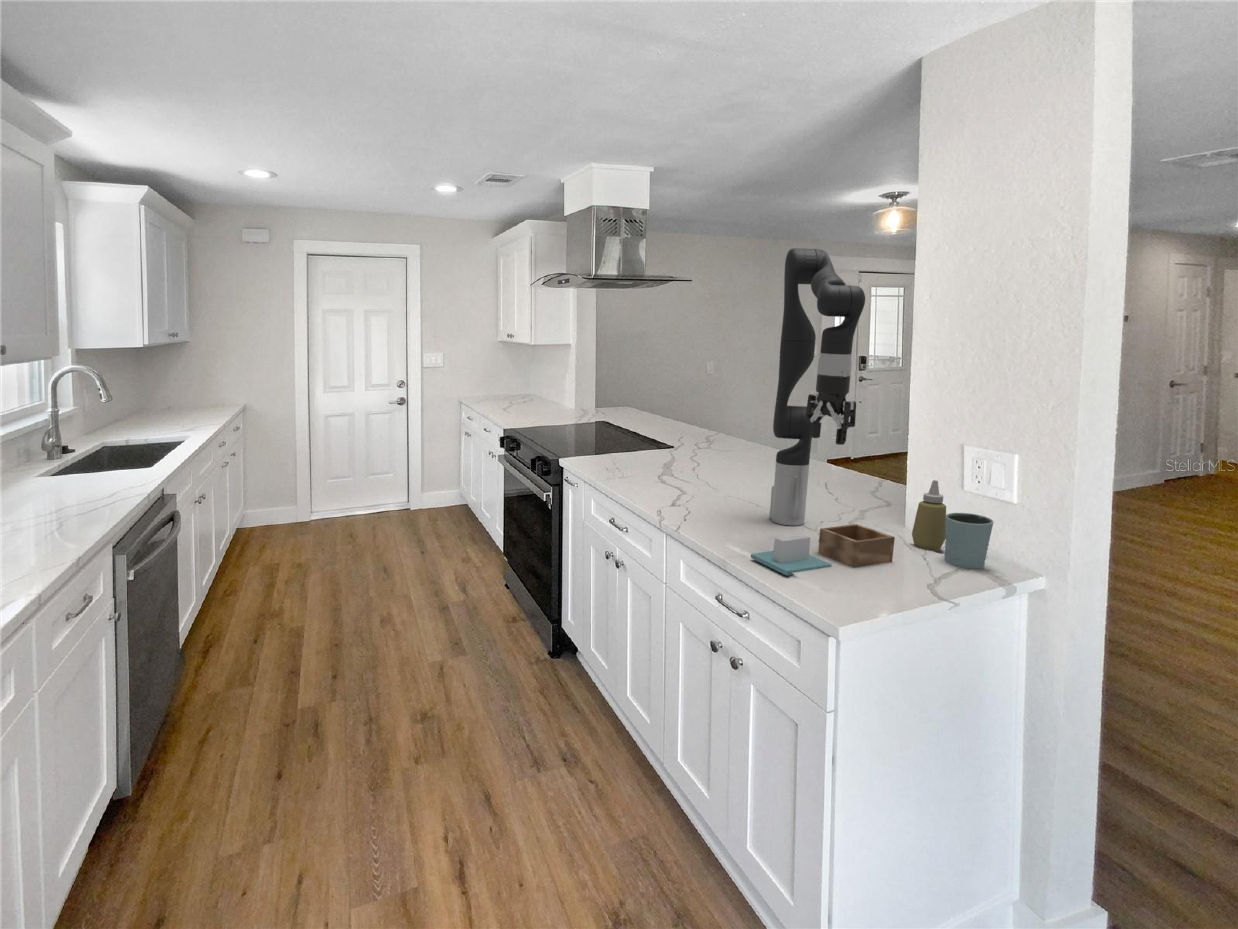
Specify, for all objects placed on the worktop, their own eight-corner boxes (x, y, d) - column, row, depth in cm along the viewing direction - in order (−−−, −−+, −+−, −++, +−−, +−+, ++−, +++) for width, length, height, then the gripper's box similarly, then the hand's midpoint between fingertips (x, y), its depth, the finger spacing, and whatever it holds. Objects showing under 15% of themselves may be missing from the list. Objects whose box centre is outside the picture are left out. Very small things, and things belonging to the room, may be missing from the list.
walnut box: (817, 556, 175) (820, 528, 174) (854, 550, 180) (857, 523, 179) (853, 571, 164) (856, 542, 163) (891, 565, 170) (894, 537, 168)
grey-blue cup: (992, 567, 171) (999, 518, 169) (979, 577, 164) (986, 526, 162) (948, 557, 178) (953, 510, 176) (933, 566, 170) (939, 517, 168)
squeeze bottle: (941, 546, 186) (950, 479, 183) (946, 555, 179) (955, 485, 175) (908, 543, 188) (916, 476, 185) (912, 552, 181) (920, 482, 177)
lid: (750, 561, 170) (752, 532, 169) (793, 555, 176) (795, 527, 175) (786, 579, 159) (788, 548, 158) (830, 571, 165) (833, 542, 163)
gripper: (801, 370, 173) (795, 436, 176) (843, 376, 160) (836, 447, 164) (825, 369, 176) (819, 435, 179) (868, 375, 163) (861, 445, 167)
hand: (827, 441), depth 172 cm, fingers open, 8 cm apart
